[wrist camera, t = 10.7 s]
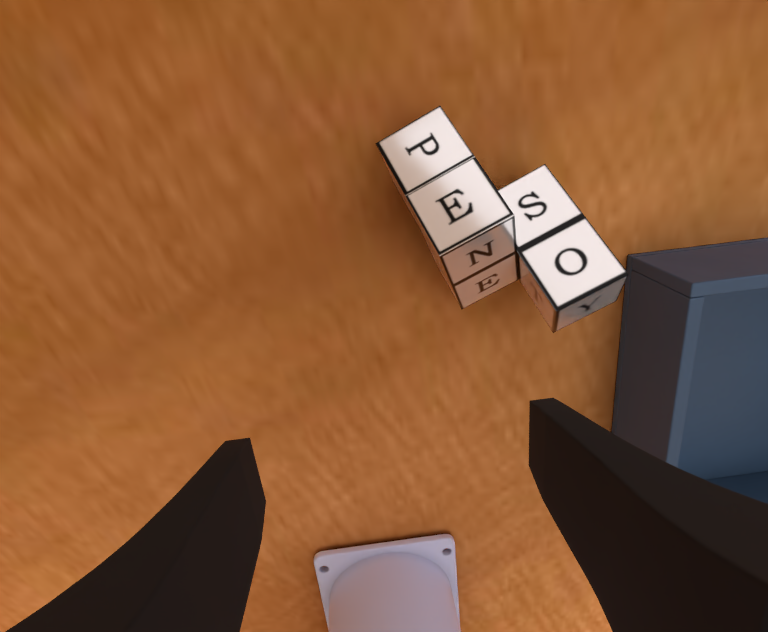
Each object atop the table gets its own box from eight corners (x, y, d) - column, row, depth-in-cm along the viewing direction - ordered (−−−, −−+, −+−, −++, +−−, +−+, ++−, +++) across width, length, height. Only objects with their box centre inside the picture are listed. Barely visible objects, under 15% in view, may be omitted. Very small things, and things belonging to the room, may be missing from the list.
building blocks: (409, 216, 22) (492, 364, 19) (375, 143, 17) (478, 325, 14) (512, 158, 22) (615, 301, 18) (506, 66, 17) (646, 238, 14)
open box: (811, 467, 27) (892, 526, 23) (605, 495, 27) (651, 561, 23) (881, 223, 22) (1003, 244, 18) (627, 254, 22) (692, 283, 18)
